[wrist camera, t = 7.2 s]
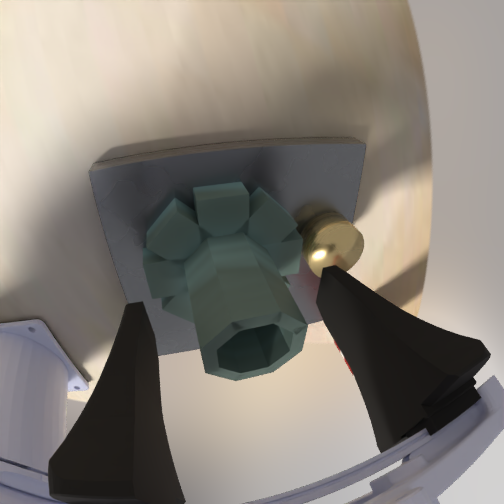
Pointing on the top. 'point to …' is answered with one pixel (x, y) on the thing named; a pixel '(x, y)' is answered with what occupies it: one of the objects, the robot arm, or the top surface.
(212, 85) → the top surface
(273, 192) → the carrier plate
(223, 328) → the gear
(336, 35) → the top surface
